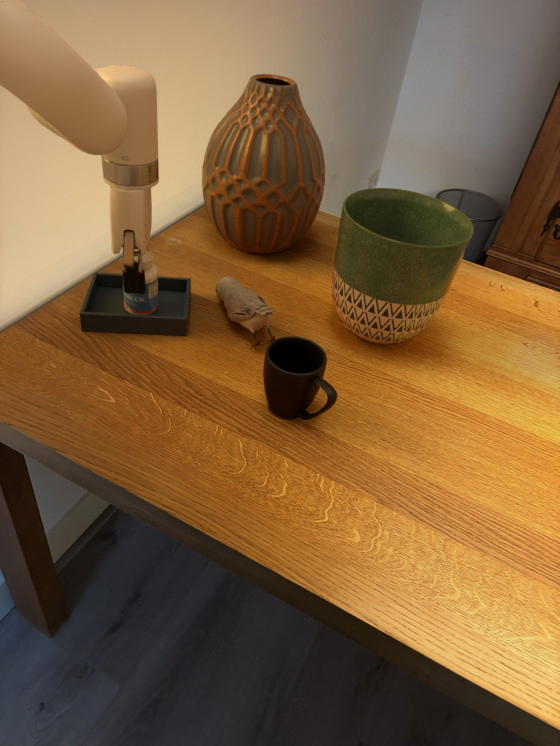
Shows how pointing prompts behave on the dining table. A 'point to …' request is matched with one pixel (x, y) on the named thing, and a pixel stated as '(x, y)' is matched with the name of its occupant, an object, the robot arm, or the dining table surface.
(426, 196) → the planter
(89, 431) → the dining table surface
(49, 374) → the dining table surface
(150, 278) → the pill bottle
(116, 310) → the tray
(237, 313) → the decorative bird
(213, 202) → the vase
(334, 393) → the mug
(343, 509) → the dining table surface
